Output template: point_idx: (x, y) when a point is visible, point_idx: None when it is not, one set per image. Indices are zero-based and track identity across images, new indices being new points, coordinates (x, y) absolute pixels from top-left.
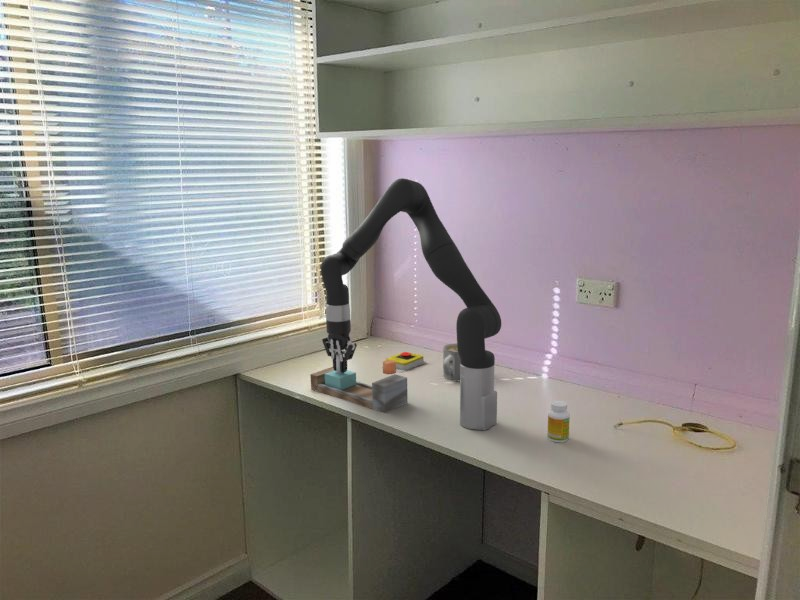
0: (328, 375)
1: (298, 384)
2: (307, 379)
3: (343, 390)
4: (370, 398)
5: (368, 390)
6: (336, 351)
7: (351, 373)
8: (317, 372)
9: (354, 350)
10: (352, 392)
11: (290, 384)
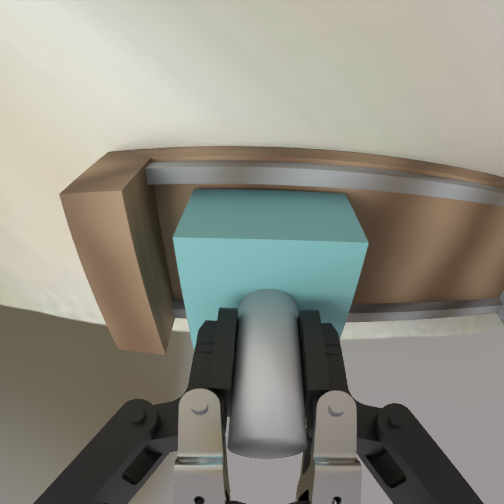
0: None
1: (62, 280)
2: (26, 222)
3: None
4: (478, 279)
5: (444, 215)
6: (226, 476)
7: (347, 275)
8: (112, 321)
9: (459, 480)
10: (384, 276)
11: (50, 293)
